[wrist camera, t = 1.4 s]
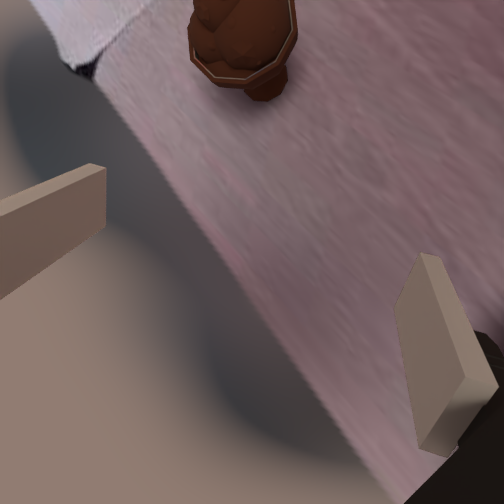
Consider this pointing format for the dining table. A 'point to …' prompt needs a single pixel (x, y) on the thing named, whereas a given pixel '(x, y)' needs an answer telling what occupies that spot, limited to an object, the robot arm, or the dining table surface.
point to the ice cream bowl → (244, 43)
